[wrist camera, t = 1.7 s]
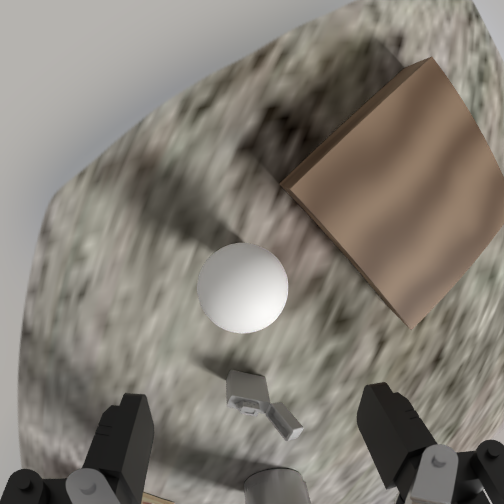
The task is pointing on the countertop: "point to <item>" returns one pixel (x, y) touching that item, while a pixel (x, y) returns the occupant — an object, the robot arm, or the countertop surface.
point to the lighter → (259, 402)
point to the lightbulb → (242, 287)
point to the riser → (406, 190)
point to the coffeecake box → (153, 500)
